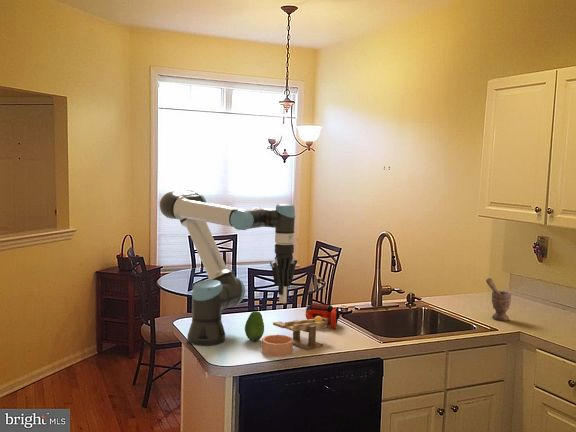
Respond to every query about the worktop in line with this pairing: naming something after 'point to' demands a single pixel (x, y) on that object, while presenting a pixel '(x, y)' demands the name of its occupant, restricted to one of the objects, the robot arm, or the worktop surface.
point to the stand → (305, 342)
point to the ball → (318, 319)
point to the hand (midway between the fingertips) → (282, 302)
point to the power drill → (323, 313)
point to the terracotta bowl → (277, 345)
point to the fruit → (254, 326)
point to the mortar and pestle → (499, 302)
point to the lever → (302, 324)
